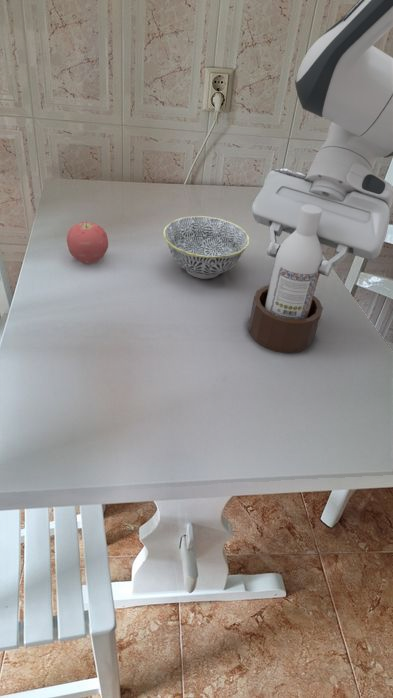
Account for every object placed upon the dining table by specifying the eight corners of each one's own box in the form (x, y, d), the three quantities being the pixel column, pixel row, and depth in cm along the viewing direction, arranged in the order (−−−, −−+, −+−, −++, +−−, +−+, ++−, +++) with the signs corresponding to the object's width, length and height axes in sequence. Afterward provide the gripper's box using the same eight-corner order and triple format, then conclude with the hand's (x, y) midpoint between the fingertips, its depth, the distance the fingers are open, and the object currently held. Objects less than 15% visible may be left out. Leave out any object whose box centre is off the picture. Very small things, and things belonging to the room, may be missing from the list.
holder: (305, 315, 86) (313, 286, 82) (319, 354, 78) (329, 324, 74) (244, 312, 85) (250, 282, 81) (253, 351, 77) (259, 321, 73)
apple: (64, 254, 94) (60, 215, 89) (100, 249, 97) (99, 210, 92) (75, 273, 90) (72, 233, 85) (113, 266, 93) (112, 227, 88)
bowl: (237, 299, 88) (243, 262, 83) (152, 283, 89) (153, 245, 85) (247, 258, 100) (254, 224, 95) (172, 244, 102) (175, 210, 97)
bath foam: (310, 335, 78) (345, 219, 66) (270, 338, 77) (298, 219, 64) (294, 310, 84) (324, 198, 71) (256, 312, 82) (280, 198, 69)
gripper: (269, 153, 74) (230, 234, 73) (405, 190, 67) (363, 280, 66) (275, 174, 80) (239, 250, 79) (400, 211, 73) (362, 294, 72)
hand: (297, 264), depth 73 cm, fingers closed on bath foam, 7 cm apart
